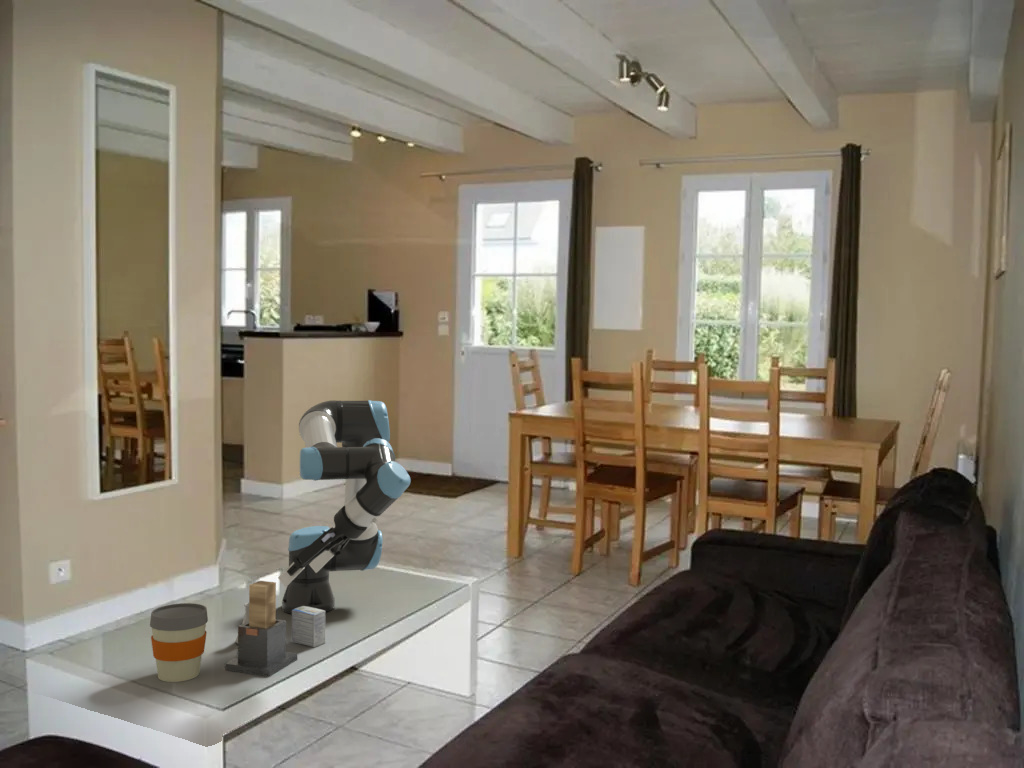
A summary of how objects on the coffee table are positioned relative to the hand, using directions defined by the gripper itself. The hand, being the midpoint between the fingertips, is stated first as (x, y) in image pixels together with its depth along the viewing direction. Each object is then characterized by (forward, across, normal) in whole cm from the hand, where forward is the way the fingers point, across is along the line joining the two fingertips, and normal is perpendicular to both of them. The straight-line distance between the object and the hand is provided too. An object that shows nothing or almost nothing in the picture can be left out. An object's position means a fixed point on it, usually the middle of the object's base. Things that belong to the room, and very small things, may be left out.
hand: (298, 575), depth 208 cm
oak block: (+22, 0, -8) cm, 23 cm away
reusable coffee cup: (+33, -12, +1) cm, 35 cm away
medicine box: (+22, +18, -11) cm, 30 cm away
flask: (+32, +13, -1) cm, 34 cm away
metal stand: (+23, 0, -9) cm, 25 cm away
